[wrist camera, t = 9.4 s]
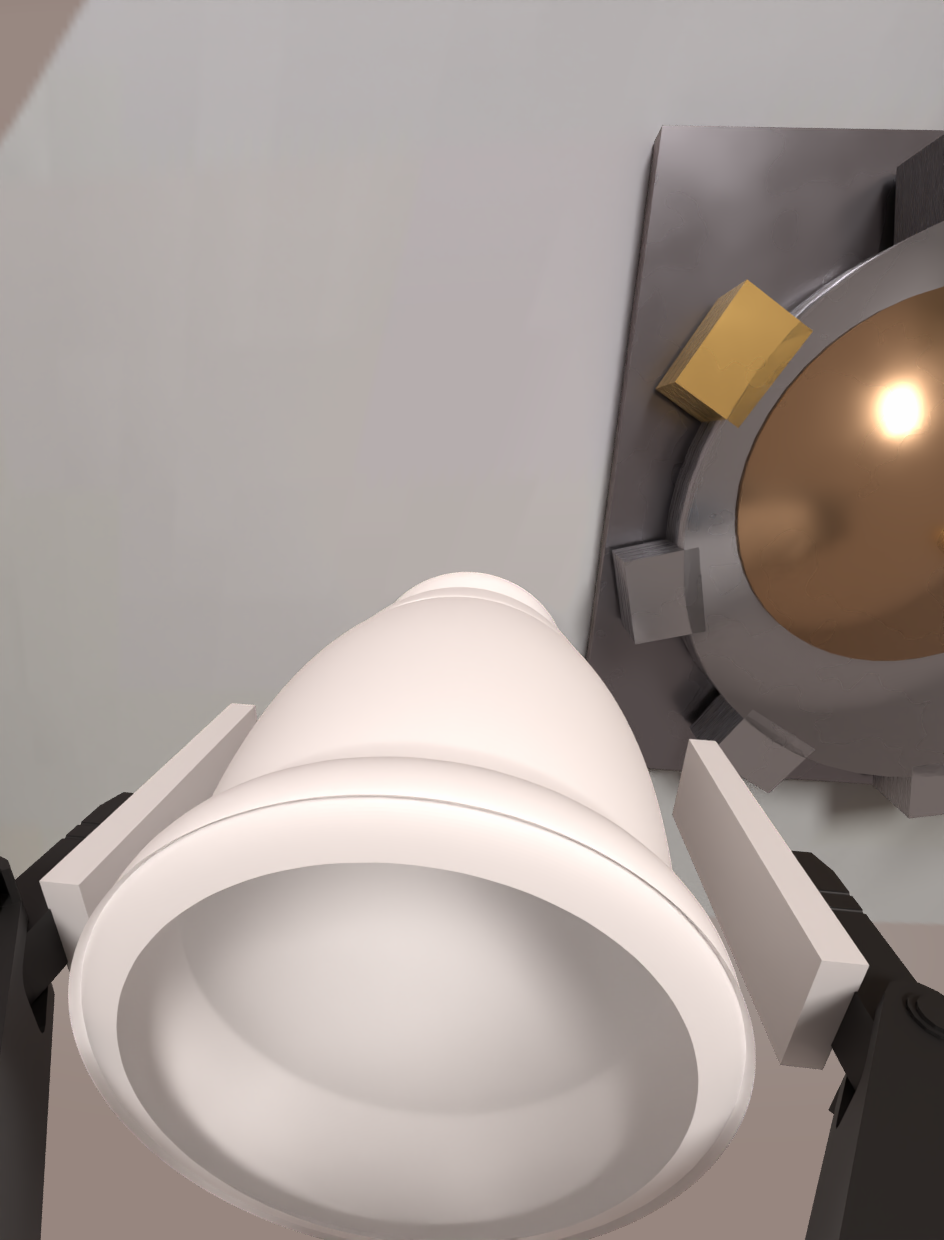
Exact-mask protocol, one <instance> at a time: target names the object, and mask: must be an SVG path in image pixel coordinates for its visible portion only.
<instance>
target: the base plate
mask: <svg viewBox="0 0 944 1240" xmlns="http://www.w3.org/2000/svg"><path fill="white" fill-rule="evenodd" d="M943 134H944V131H940V130H887V129H833V128H779V127H726V126H672V125H662V127H661V129H660V131H659V133H658V135H657V137H656V139H655V142H654V149H653V157H652V164H651V172H650V179H649V187H648V194H647V202H646V210H645V217H644V225H643V232H642V240H641V247H640V255H639V263H638V270H637V278H636V285H635V293H634V300H633V308H632V315H631V323H630V331H629V338H628V346H627V353H626V361H625V368H624V376H623V383H622V391H621V399H620V406H619V414H618V421H617V429H616V436H615V444H614V451H613V459H612V467H611V474H610V482H609V489H608V497H607V504H606V512H605V519H604V527H603V535H602V542H601V550H600V557H599V565H598V572H597V580H596V587H595V595H594V603H593V610H592V618H591V625H590V633H589V640H588V648H587V655H586V661H587V662H588V663H589V664H590V665H591V667H592V668H593V669H594V670H595V672H596V673H597V674H598V676H599V677H600V678H601V680H602V681H603V682H604V684H605V685H606V687H607V688H608V690H609V691H610V693H611V694H612V696H613V697H614V699H615V701H616V702H617V704H618V706H619V707H620V709H621V711H622V713H623V714H624V716H625V718H626V720H627V722H628V724H629V726H630V728H631V730H632V732H633V734H634V737H635V739H636V741H637V743H638V746H639V748H640V750H641V753H642V755H643V758H644V761H645V763H646V766H647V768H653V769H666V770H680V771H682V768H683V764H684V759H685V755H686V751H687V746H688V742H689V739H696V737H695V736H694V734H693V733H692V731H691V729H690V728H689V727H690V726H691V725H692V724H693V723H694V722H695V720H696V719H697V718H698V717H699V716H700V715H701V714H702V713H703V712H704V711H705V710H706V709H707V708H708V706H709V705H710V704H711V703H712V702H713V701H714V700H715V699H716V698H717V697H718V696H719V695H720V693H719V692H718V690H717V689H716V688H715V687H714V686H713V685H712V683H711V682H710V681H709V680H708V679H707V677H706V676H705V675H704V673H703V672H702V671H701V669H700V668H699V666H698V665H697V664H696V662H695V661H694V660H693V658H692V656H691V654H690V653H689V651H688V649H687V647H686V645H685V643H684V641H683V639H682V637H681V636H678V637H673V638H667V639H662V640H656V641H651V642H645V643H640V644H635V643H634V642H633V640H632V639H631V637H630V636H629V634H628V633H627V631H626V630H625V628H624V627H623V625H622V619H621V612H620V605H619V598H618V591H617V583H616V576H615V569H614V562H613V555H612V550H615V549H619V548H624V547H629V546H634V545H639V544H643V543H648V542H653V541H658V540H663V539H666V531H667V521H668V514H669V509H670V505H671V501H672V497H673V492H674V488H675V484H676V480H677V478H678V475H679V472H680V469H681V467H682V464H683V461H684V459H685V456H686V453H687V450H688V448H689V446H690V444H691V442H692V440H693V438H694V436H695V434H696V432H697V430H698V428H699V426H700V424H701V422H700V421H699V420H698V419H696V418H695V417H694V416H692V415H691V414H689V413H688V412H687V411H685V410H684V409H683V408H681V407H680V406H678V405H677V404H676V403H674V402H673V401H671V400H670V399H669V398H667V397H666V396H665V395H663V394H662V393H660V392H659V391H658V390H656V387H657V386H658V384H659V383H660V381H661V380H662V379H663V377H664V376H665V374H666V373H667V371H668V370H669V368H670V367H671V366H672V364H673V363H674V361H675V360H676V358H677V357H678V355H679V354H680V353H681V351H682V350H683V348H684V347H685V345H686V344H687V342H688V341H689V340H690V338H691V337H692V335H693V334H694V332H695V331H696V329H697V328H698V327H699V325H700V324H701V322H702V321H703V319H704V318H705V316H706V315H707V314H708V312H709V311H710V309H711V308H712V306H713V305H714V303H715V302H716V301H717V299H718V298H720V297H721V296H723V295H724V294H726V293H727V292H729V291H730V290H732V289H733V288H735V287H736V286H738V285H739V284H741V283H742V282H744V281H745V280H749V281H750V282H751V283H752V284H754V285H755V286H756V287H758V288H759V289H760V290H761V291H763V292H764V293H765V294H766V295H768V296H769V297H770V298H772V299H773V300H774V301H775V302H777V303H778V304H779V305H780V306H782V307H783V308H784V309H786V310H787V311H788V312H791V311H792V310H793V309H794V308H796V307H797V306H798V305H800V304H801V303H802V302H803V301H805V300H806V299H807V298H808V297H810V296H811V295H812V294H813V293H815V292H816V291H817V290H819V289H820V288H821V287H822V286H824V285H825V284H827V283H828V282H830V281H832V280H833V279H835V278H836V277H838V276H840V275H841V274H843V273H844V272H846V271H848V270H849V269H851V268H852V267H854V266H856V265H857V264H859V263H860V262H862V261H864V260H866V259H868V258H870V257H872V256H873V255H875V254H877V253H879V252H881V251H883V250H885V249H887V248H889V247H891V246H893V245H894V222H895V197H896V171H897V167H898V166H899V165H901V164H902V163H904V162H905V161H906V160H908V159H909V158H911V157H912V156H914V155H915V154H916V153H918V152H919V151H921V150H922V149H924V148H925V147H926V146H928V145H929V144H931V143H932V142H933V141H935V140H936V139H938V138H939V137H941V136H942V135H943ZM696 740H697V739H696ZM786 778H791V779H805V780H819V781H833V782H847V783H861V784H873V775H870V774H861V773H855V772H850V771H846V770H842V769H838V768H834V767H830V766H826V765H823V764H820V763H818V762H815V761H812V760H810V759H807V758H806V759H805V760H804V761H803V762H801V763H800V764H799V765H798V766H797V767H796V768H795V769H794V770H793V771H792V772H791V773H790V774H789V775H788V776H787V777H786Z"/></svg>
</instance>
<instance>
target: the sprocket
mask: <svg viewBox="0 0 944 1240" xmlns="http://www.w3.org/2000/svg"><path fill="white" fill-rule="evenodd" d="M656 390H658V391H659V392H660V393H662V394H663V395H665V396H666V397H667V398H669V399H670V400H671V401H673V402H674V403H676V404H677V405H678V406H680V407H681V408H683V409H684V410H685V411H687V412H688V413H689V414H691V415H692V416H694V417H695V418H696V419H698V420H699V421H700V422H701V424H700V426H699V428H698V430H697V432H696V434H695V436H694V438H693V440H692V442H691V444H690V446H689V448H688V450H687V453H686V456H685V459H684V461H683V464H682V467H681V469H680V472H679V475H678V478H677V480H676V484H675V488H674V492H673V497H672V501H671V505H670V509H669V514H668V521H667V531H666V539H663V540H658V541H653V542H648V543H643V544H639V545H634V546H629V547H624V548H619V549H615V550H612V555H613V562H614V569H615V576H616V583H617V591H618V598H619V605H620V612H621V619H622V625H623V627H624V628H625V630H626V631H627V633H628V634H629V636H630V637H631V639H632V640H633V642H634V643H635V644H640V643H645V642H651V641H656V640H662V639H667V638H673V637H678V636H681V637H682V639H683V641H684V643H685V645H686V647H687V649H688V651H689V653H690V654H691V656H692V658H693V660H694V661H695V662H696V664H697V665H698V666H699V668H700V669H701V671H702V672H703V673H704V675H705V676H706V677H707V679H708V680H709V681H710V682H711V683H712V685H713V686H714V687H715V688H716V689H717V690H718V692H719V693H720V695H719V696H718V697H717V698H716V699H715V700H714V701H713V702H712V703H711V704H710V705H709V706H708V708H707V709H706V710H705V711H704V712H703V713H702V714H701V715H700V716H699V717H698V718H697V719H696V720H695V722H694V723H693V724H692V725H691V726H690V727H689V728H690V729H691V731H692V733H693V734H694V736H695V737H696V739H697V740H709V741H716V742H717V744H718V745H719V747H720V748H721V749H722V751H723V752H724V754H725V755H726V757H727V758H728V760H729V761H730V763H731V764H732V765H733V767H734V768H735V770H736V771H737V773H738V774H739V775H740V776H741V777H743V778H745V779H746V780H748V781H749V782H751V783H753V784H754V785H756V786H758V787H759V788H761V789H762V790H764V791H766V792H767V793H770V792H771V791H772V790H773V789H774V788H775V787H776V786H777V785H778V784H779V783H780V782H781V781H782V780H783V779H785V778H786V777H787V776H788V775H789V774H790V773H791V772H792V771H793V770H794V769H795V768H796V767H797V766H798V765H799V764H800V763H801V762H803V761H804V760H805V759H806V758H807V759H810V760H812V761H815V762H818V763H820V764H823V765H826V766H830V767H834V768H838V769H842V770H846V771H850V772H855V773H861V774H870V775H873V786H874V787H875V788H877V789H878V790H879V791H880V792H881V793H882V794H883V795H884V796H885V797H886V798H887V799H888V800H889V801H891V802H892V803H893V804H894V805H895V806H896V807H897V808H898V809H899V810H900V811H901V812H902V813H904V814H905V815H906V816H907V817H908V818H917V817H924V816H932V815H940V814H944V134H943V135H942V136H941V137H939V138H938V139H936V140H935V141H933V142H932V143H931V144H929V145H928V146H926V147H925V148H924V149H922V150H921V151H919V152H918V153H916V154H915V155H914V156H912V157H911V158H909V159H908V160H906V161H905V162H904V163H902V164H901V165H899V166H898V167H897V171H896V197H895V222H894V245H893V246H891V247H889V248H887V249H885V250H883V251H881V252H879V253H877V254H875V255H873V256H872V257H870V258H868V259H866V260H864V261H862V262H860V263H859V264H857V265H856V266H854V267H852V268H851V269H849V270H848V271H846V272H844V273H843V274H841V275H840V276H838V277H836V278H835V279H833V280H832V281H830V282H828V283H827V284H825V285H824V286H822V287H821V288H820V289H819V290H817V291H816V292H815V293H813V294H812V295H811V296H810V297H808V298H807V299H806V300H805V301H803V302H802V303H801V304H800V305H798V306H797V307H796V308H794V309H793V310H792V311H791V312H788V311H787V310H786V309H784V308H783V307H782V306H780V305H779V304H778V303H777V302H775V301H774V300H773V299H772V298H770V297H769V296H768V295H766V294H765V293H764V292H763V291H761V290H760V289H759V288H758V287H756V286H755V285H754V284H752V283H751V282H750V281H749V280H745V281H744V282H742V283H741V284H739V285H738V286H736V287H735V288H733V289H732V290H730V291H729V292H727V293H726V294H724V295H723V296H721V297H720V298H718V299H717V301H716V302H715V303H714V305H713V306H712V308H711V309H710V311H709V312H708V314H707V315H706V316H705V318H704V319H703V321H702V322H701V324H700V325H699V327H698V328H697V329H696V331H695V332H694V334H693V335H692V337H691V338H690V340H689V341H688V342H687V344H686V345H685V347H684V348H683V350H682V351H681V353H680V354H679V355H678V357H677V358H676V360H675V361H674V363H673V364H672V366H671V367H670V368H669V370H668V371H667V373H666V374H665V376H664V377H663V379H662V380H661V381H660V383H659V384H658V386H657V387H656Z"/></svg>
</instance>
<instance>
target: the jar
mask: <svg viewBox="0 0 944 1240" xmlns="http://www.w3.org/2000/svg"><path fill="white" fill-rule="evenodd" d="M68 1001H69V1014H70V1020H71V1026H72V1031H73V1034H74V1039H75V1042H76V1045H77V1048H78V1051H79V1053H80V1056H81V1059H82V1061H83V1063H84V1065H85V1068H86V1070H87V1072H88V1074H89V1076H90V1078H91V1080H92V1081H93V1083H94V1085H95V1086H96V1088H97V1090H98V1091H99V1093H100V1094H101V1096H102V1097H103V1099H104V1100H105V1102H106V1103H107V1104H108V1106H109V1107H110V1108H111V1110H112V1111H113V1112H114V1114H115V1115H116V1116H117V1117H118V1118H119V1120H120V1121H121V1122H122V1123H123V1124H124V1125H125V1126H126V1127H127V1129H128V1130H129V1131H130V1132H131V1133H132V1134H133V1135H134V1136H135V1137H136V1138H137V1139H138V1140H139V1141H140V1142H141V1143H143V1144H144V1145H145V1146H146V1147H147V1148H148V1149H149V1150H150V1151H151V1152H152V1153H154V1154H155V1155H156V1156H157V1157H158V1158H160V1159H161V1160H162V1161H164V1162H165V1163H166V1164H167V1165H169V1166H170V1167H171V1168H173V1169H174V1170H175V1171H177V1172H178V1173H180V1174H181V1175H183V1176H184V1177H185V1178H187V1179H188V1180H190V1181H191V1182H193V1183H194V1184H196V1185H198V1186H199V1187H201V1188H203V1189H204V1190H206V1191H208V1192H209V1193H211V1194H213V1195H215V1196H216V1197H218V1198H220V1199H222V1200H224V1201H226V1202H228V1203H230V1204H232V1205H234V1206H236V1207H238V1208H240V1209H242V1210H244V1211H246V1212H248V1213H251V1214H253V1215H255V1216H257V1217H260V1218H262V1219H265V1220H267V1221H270V1222H272V1223H275V1224H278V1225H280V1226H283V1227H285V1228H289V1229H291V1230H294V1231H297V1232H301V1233H304V1234H307V1235H310V1236H313V1237H317V1238H321V1239H324V1240H588V1239H591V1238H594V1237H597V1236H600V1235H603V1234H606V1233H609V1232H611V1231H614V1230H616V1229H619V1228H621V1227H624V1226H626V1225H628V1224H630V1223H633V1222H635V1221H637V1220H639V1219H641V1218H643V1217H645V1216H647V1215H649V1214H650V1213H652V1212H654V1211H656V1210H657V1209H659V1208H661V1207H663V1206H664V1205H666V1204H667V1203H669V1202H670V1201H672V1200H673V1199H675V1198H676V1197H678V1196H679V1195H680V1194H682V1193H683V1192H684V1191H686V1190H687V1189H688V1188H689V1187H691V1186H692V1185H693V1184H694V1183H695V1182H696V1181H697V1180H699V1179H700V1178H701V1177H702V1176H703V1175H704V1174H705V1173H706V1172H707V1171H708V1170H709V1169H710V1168H711V1166H713V1164H714V1163H715V1162H716V1161H717V1160H718V1159H719V1157H720V1156H721V1155H722V1154H723V1152H724V1151H725V1150H726V1148H727V1147H728V1145H729V1144H730V1142H731V1141H732V1139H733V1137H734V1136H735V1134H736V1132H737V1130H738V1128H739V1126H740V1124H741V1122H742V1120H743V1118H744V1116H745V1113H746V1110H747V1108H748V1104H749V1101H750V1098H751V1093H752V1089H753V1084H754V1077H755V1066H756V1052H755V1040H754V1033H753V1028H752V1023H751V1019H750V1015H749V1012H748V1009H747V1006H746V1003H745V1000H744V997H743V995H742V993H741V990H740V987H739V983H738V980H737V976H736V974H735V971H734V968H733V965H732V963H731V960H730V958H729V955H728V953H727V951H726V949H725V946H724V944H723V942H722V940H721V938H720V936H719V934H718V932H717V930H716V928H715V927H714V925H713V923H712V921H711V920H710V918H709V917H708V915H707V914H706V912H705V911H704V909H703V908H702V906H701V905H700V903H699V902H698V901H697V899H696V898H695V897H694V896H693V894H692V893H691V892H690V890H689V889H688V888H687V887H686V886H685V884H684V883H683V882H682V881H681V880H680V879H679V877H678V876H677V875H676V874H675V873H674V872H673V871H672V865H671V859H670V853H669V848H668V843H667V838H666V833H665V829H664V824H663V820H662V816H661V812H660V808H659V805H658V801H657V797H656V794H655V791H654V787H653V784H652V781H651V778H650V775H649V772H648V769H647V766H646V763H645V761H644V758H643V755H642V753H641V750H640V748H639V746H638V743H637V741H636V739H635V737H634V734H633V732H632V730H631V728H630V726H629V724H628V722H627V720H626V718H625V716H624V714H623V713H622V711H621V709H620V707H619V706H618V704H617V702H616V701H615V699H614V697H613V696H612V694H611V693H610V691H609V690H608V688H607V687H606V685H605V684H604V682H603V681H602V680H601V678H600V677H599V676H598V674H597V673H596V672H595V670H594V669H593V668H592V667H591V665H590V664H589V663H588V662H587V661H586V660H585V658H584V657H583V656H582V655H581V654H580V653H579V652H578V651H577V650H576V649H575V648H574V647H573V645H572V644H571V643H570V642H569V640H568V639H567V638H566V637H565V636H564V635H563V634H562V633H561V632H560V630H559V629H558V628H557V626H556V624H555V622H554V620H553V618H552V617H551V615H550V614H549V613H548V611H547V610H546V609H545V607H544V606H543V605H542V604H541V603H540V602H539V601H538V600H537V599H536V598H535V597H534V596H532V595H531V594H530V593H529V592H527V591H526V590H524V589H523V588H521V587H520V586H518V585H516V584H514V583H512V582H510V581H508V580H505V579H503V578H500V577H497V576H493V575H489V574H484V573H477V572H457V573H449V574H444V575H440V576H437V577H434V578H431V579H428V580H426V581H424V582H422V583H420V584H418V585H416V586H414V587H413V588H411V589H410V590H408V591H407V592H406V593H404V594H403V595H402V596H401V597H400V598H399V599H397V600H396V601H395V603H394V604H392V605H390V606H388V607H386V608H385V609H383V610H381V611H380V612H378V613H377V614H375V615H374V616H372V617H371V618H369V619H367V620H365V621H364V622H362V623H360V624H358V625H357V626H355V627H353V628H352V629H350V630H348V631H347V632H345V633H344V634H342V635H341V636H340V637H338V638H337V639H335V640H334V641H333V642H331V643H330V644H329V645H328V646H326V647H325V648H324V649H323V650H321V651H320V652H319V653H318V654H317V655H316V656H314V657H313V658H312V659H311V660H310V661H309V662H308V663H307V664H306V665H305V666H304V667H303V668H302V669H301V670H300V671H299V672H298V673H297V674H296V675H295V676H294V677H293V678H292V679H291V680H290V681H289V682H288V683H287V684H286V685H285V687H284V688H283V689H282V690H281V691H280V692H279V693H278V695H277V696H276V697H275V698H274V700H273V701H272V702H271V703H270V705H269V706H268V707H267V708H266V710H265V711H264V712H263V714H262V715H261V716H260V718H259V719H258V721H257V722H256V723H255V725H254V726H253V728H252V729H251V731H250V732H249V734H248V735H247V737H246V738H245V740H244V741H243V743H242V744H241V746H240V748H239V749H238V751H237V752H236V754H235V756H234V757H233V759H232V761H231V762H230V764H229V766H228V768H227V769H226V771H225V773H224V775H223V776H222V778H221V780H220V782H219V784H218V786H217V788H216V789H215V791H214V793H213V795H212V797H211V798H209V799H207V800H206V801H204V802H202V803H200V804H199V805H197V806H196V807H194V808H192V809H191V810H189V811H188V812H187V813H185V814H184V815H182V816H181V817H179V818H178V819H177V820H175V821H174V822H173V823H171V824H170V825H169V826H168V827H166V828H165V829H164V830H163V831H161V832H160V833H159V834H158V835H157V836H156V837H154V838H153V839H152V840H151V841H150V842H149V843H148V844H147V845H146V846H145V847H144V848H143V849H142V850H141V851H140V852H139V853H138V855H137V856H136V857H135V858H134V859H133V860H132V862H131V863H130V864H129V865H128V867H127V868H126V869H125V870H124V872H123V873H122V874H121V876H120V877H119V878H118V880H117V881H116V883H115V884H114V886H113V887H112V888H111V889H110V890H109V891H108V893H107V894H106V895H105V896H104V897H103V899H102V900H101V901H100V903H99V904H98V906H97V907H96V908H95V910H94V911H93V913H92V915H91V916H90V918H89V920H88V921H87V923H86V925H85V927H84V929H83V931H82V933H81V936H80V938H79V941H78V943H77V946H76V949H75V952H74V956H73V960H72V964H71V969H70V976H69V989H68Z"/></svg>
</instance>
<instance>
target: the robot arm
mask: <svg viewBox="0 0 944 1240" xmlns="http://www.w3.org/2000/svg"><path fill="white" fill-rule="evenodd" d="M256 722H257V714H256V706H255V705H247V704H235V703H231V704H230V705H229V706H228V707H227V708H226V709H225V710H224V711H222V712H221V713H220V714H219V715H218V716H217V717H216V718H215V719H214V720H213V721H212V722H211V723H210V724H208V725H207V726H206V727H205V728H204V729H203V730H202V731H201V732H200V733H199V734H198V735H197V736H195V737H194V738H193V739H192V740H191V741H190V742H189V743H188V744H187V745H186V746H185V747H184V748H182V749H181V750H180V751H179V752H178V753H177V754H176V755H175V756H174V757H173V758H172V759H171V760H170V761H168V762H167V763H166V764H165V765H164V766H163V767H162V768H161V769H160V770H159V771H158V772H157V773H155V774H154V775H153V776H152V777H151V778H150V779H149V780H148V781H147V782H146V783H145V784H144V785H142V786H141V787H140V788H139V789H138V790H137V791H136V792H135V793H127V792H123V793H121V794H120V795H118V796H116V797H114V798H112V799H111V800H109V801H107V802H105V803H104V804H102V805H100V806H99V807H98V808H97V809H95V810H94V811H93V812H92V813H91V814H90V815H89V816H87V817H86V818H85V819H84V820H83V821H82V822H81V825H77V826H76V827H75V828H74V829H73V830H71V831H70V832H69V833H68V834H67V835H66V838H65V839H61V840H60V841H59V842H58V843H57V844H55V845H54V846H53V847H52V848H51V849H50V850H49V851H48V852H46V853H45V854H44V855H43V856H42V857H41V858H40V859H38V860H37V861H36V862H35V863H34V864H33V865H32V866H30V867H29V868H28V869H27V870H26V871H25V872H24V873H22V874H21V875H20V876H19V877H18V878H17V879H16V880H15V879H14V876H13V873H12V870H11V867H10V865H9V862H8V860H7V859H5V858H2V857H0V1240H40V1238H41V1220H42V1204H43V1186H44V1169H45V1152H46V1134H47V1116H48V1100H49V1082H50V1065H51V1064H50V1063H51V1047H52V1029H53V1012H54V995H55V994H54V990H53V987H52V983H51V982H52V981H53V980H54V978H55V977H56V976H57V975H58V974H59V973H60V971H61V970H62V969H63V968H64V967H65V966H66V964H67V966H68V969H69V972H70V969H71V964H72V960H73V956H74V952H75V949H76V946H77V943H78V941H79V938H80V936H81V933H82V931H83V929H84V927H85V925H86V923H87V921H88V920H89V918H90V916H91V915H92V913H93V911H94V910H95V908H96V907H97V906H98V904H99V903H100V901H101V900H102V899H103V897H104V896H105V895H106V894H107V893H108V891H109V890H110V889H111V888H112V887H113V886H114V884H115V883H116V881H117V880H118V878H119V877H120V876H121V874H122V873H123V872H124V870H125V869H126V868H127V867H128V865H129V864H130V863H131V862H132V860H133V859H134V858H135V857H136V856H137V855H138V853H139V852H140V851H141V850H142V849H143V848H144V847H145V846H146V845H147V844H148V843H149V842H150V841H151V840H152V839H153V838H154V837H156V836H157V835H158V834H159V833H160V832H161V831H163V830H164V829H165V828H166V827H168V826H169V825H170V824H171V823H173V822H174V821H175V820H177V819H178V818H179V817H181V816H182V815H184V814H185V813H187V812H188V811H189V810H191V809H192V808H194V807H196V806H197V805H199V804H200V803H202V802H204V801H206V800H207V799H209V798H211V797H212V795H213V793H214V791H215V789H216V788H217V786H218V784H219V782H220V780H221V778H222V776H223V775H224V773H225V771H226V769H227V768H228V766H229V764H230V762H231V761H232V759H233V757H234V756H235V754H236V752H237V751H238V749H239V748H240V746H241V744H242V743H243V741H244V740H245V738H246V737H247V735H248V734H249V732H250V731H251V729H252V728H253V726H254V725H255V723H256ZM672 815H673V818H674V820H675V822H676V825H677V827H678V829H679V832H680V834H681V836H682V839H683V841H684V843H685V845H686V848H687V850H688V852H689V855H690V857H691V859H692V862H693V864H694V866H695V869H696V871H697V873H698V876H699V878H700V880H701V883H702V885H703V887H704V889H705V892H706V894H707V896H708V899H709V901H710V903H711V906H712V908H713V910H714V913H715V915H716V917H717V920H718V922H719V924H720V926H721V929H722V931H723V933H724V936H725V938H726V940H727V943H728V945H729V947H730V950H731V952H732V954H733V956H734V959H735V961H736V964H737V966H738V968H739V971H740V973H741V975H742V977H743V980H744V982H745V984H746V987H747V989H748V991H749V993H750V996H751V998H752V1000H753V1003H754V1005H755V1007H756V1010H757V1012H758V1014H759V1016H760V1019H761V1021H762V1024H763V1026H764V1028H765V1031H766V1033H767V1035H768V1038H769V1040H770V1042H771V1044H772V1047H773V1049H774V1051H775V1054H776V1056H777V1058H778V1061H779V1063H780V1065H786V1066H794V1067H803V1068H812V1069H821V1070H822V1069H823V1068H824V1066H825V1064H826V1061H827V1059H828V1057H829V1055H830V1052H831V1050H832V1049H833V1050H834V1052H835V1054H836V1056H837V1058H838V1060H839V1062H840V1064H841V1066H842V1067H843V1069H844V1071H845V1073H846V1074H845V1076H844V1078H843V1080H842V1083H841V1085H840V1087H839V1089H838V1091H837V1093H836V1095H835V1097H834V1100H833V1102H832V1104H831V1106H830V1108H829V1111H830V1112H832V1113H833V1114H834V1116H833V1120H832V1124H831V1129H830V1133H829V1138H828V1142H827V1146H826V1151H825V1155H824V1159H823V1164H822V1168H821V1172H820V1177H819V1181H818V1185H817V1190H816V1195H815V1199H814V1203H813V1207H812V1212H811V1216H810V1220H809V1225H808V1229H807V1234H806V1238H805V1240H944V996H943V995H942V994H940V993H939V992H938V991H935V990H933V989H931V988H929V987H927V986H925V985H922V984H920V983H917V981H916V980H915V979H914V978H913V976H912V975H911V974H910V972H909V971H908V970H907V968H906V967H905V966H904V964H903V963H902V962H901V961H900V959H899V958H898V956H897V955H896V954H895V952H894V951H893V950H892V948H891V947H890V946H889V944H888V943H887V942H886V940H885V939H884V938H883V936H882V935H881V934H880V932H879V931H878V930H877V928H876V927H875V926H874V924H873V923H872V922H871V920H870V919H869V918H868V916H867V915H866V914H863V912H862V908H861V907H860V906H859V904H858V903H857V902H856V900H855V899H854V898H853V896H850V895H849V891H848V890H847V888H846V887H845V886H844V884H843V883H842V882H841V880H840V879H839V878H838V876H837V875H836V874H835V872H834V871H833V870H831V869H830V868H829V867H828V866H827V865H825V864H824V863H823V862H822V861H821V860H819V859H818V858H817V857H816V856H815V855H813V854H812V853H810V852H799V851H791V850H790V849H789V847H788V846H787V844H786V843H785V841H784V840H783V838H782V837H781V836H780V834H779V833H778V831H777V830H776V828H775V827H774V825H773V824H772V822H771V821H770V819H769V818H768V817H767V815H766V814H765V812H764V811H763V809H762V808H761V806H760V805H759V803H758V802H757V801H756V799H755V798H754V796H753V795H752V793H751V792H750V790H749V789H748V787H747V786H746V784H745V783H744V782H743V780H742V779H741V777H740V776H739V774H738V773H737V771H736V770H735V768H734V767H733V765H732V764H731V763H730V761H729V760H728V758H727V757H726V755H725V754H724V752H723V751H722V749H721V748H720V747H719V745H718V744H717V742H716V741H709V740H696V739H689V742H688V746H687V751H686V755H685V759H684V764H683V768H682V773H681V777H680V782H679V786H678V791H677V795H676V800H675V804H674V809H673V813H672Z"/></svg>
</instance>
